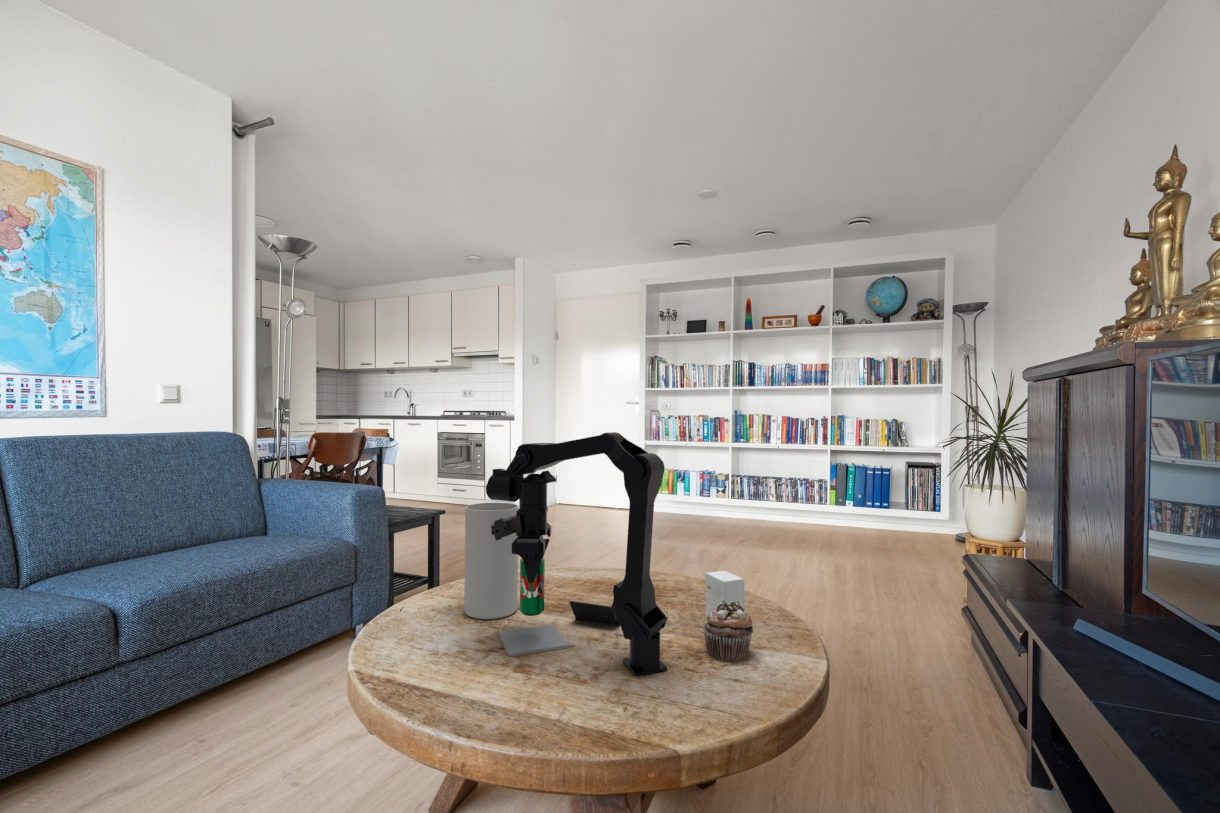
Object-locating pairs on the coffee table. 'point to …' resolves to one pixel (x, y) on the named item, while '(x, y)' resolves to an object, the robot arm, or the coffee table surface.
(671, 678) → the coffee table surface
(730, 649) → the cupcake
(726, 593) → the small box
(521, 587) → the soda can
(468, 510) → the cylinder vase
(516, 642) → the slate mat
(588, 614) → the handheld gaming console
